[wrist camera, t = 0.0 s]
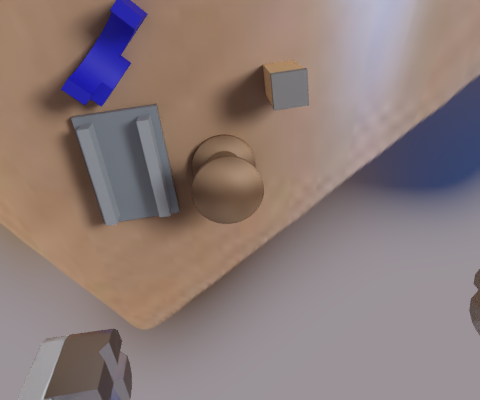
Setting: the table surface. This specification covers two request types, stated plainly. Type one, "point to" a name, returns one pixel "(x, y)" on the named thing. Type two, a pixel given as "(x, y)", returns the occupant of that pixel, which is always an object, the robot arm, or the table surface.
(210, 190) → the door knob
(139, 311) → the table surface
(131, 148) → the grey channel bracket
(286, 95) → the grey and tan block
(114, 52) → the blue curved block
